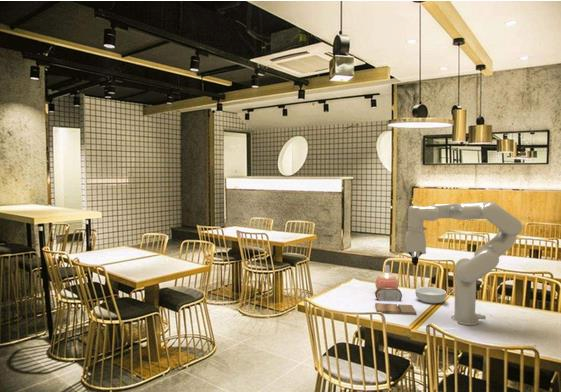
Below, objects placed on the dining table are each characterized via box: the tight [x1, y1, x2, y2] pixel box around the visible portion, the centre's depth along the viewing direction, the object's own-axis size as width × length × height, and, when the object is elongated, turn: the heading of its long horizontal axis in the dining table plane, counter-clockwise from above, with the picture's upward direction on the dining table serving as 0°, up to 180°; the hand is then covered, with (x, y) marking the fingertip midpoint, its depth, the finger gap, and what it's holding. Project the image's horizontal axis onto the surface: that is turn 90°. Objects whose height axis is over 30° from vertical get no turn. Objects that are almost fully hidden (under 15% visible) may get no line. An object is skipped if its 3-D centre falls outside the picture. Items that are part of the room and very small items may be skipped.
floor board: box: [397, 303, 417, 316], centre depth 216 cm, size 22×13×2 cm, turn 82°
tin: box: [374, 287, 403, 302], centre depth 233 cm, size 15×3×8 cm, turn 84°
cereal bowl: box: [414, 286, 447, 304], centre depth 233 cm, size 17×17×7 cm
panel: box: [374, 302, 401, 315], centre depth 217 cm, size 11×12×2 cm
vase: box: [374, 264, 399, 290], centre depth 250 cm, size 14×14×18 cm
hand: (414, 264), depth 209 cm, fingers closed
